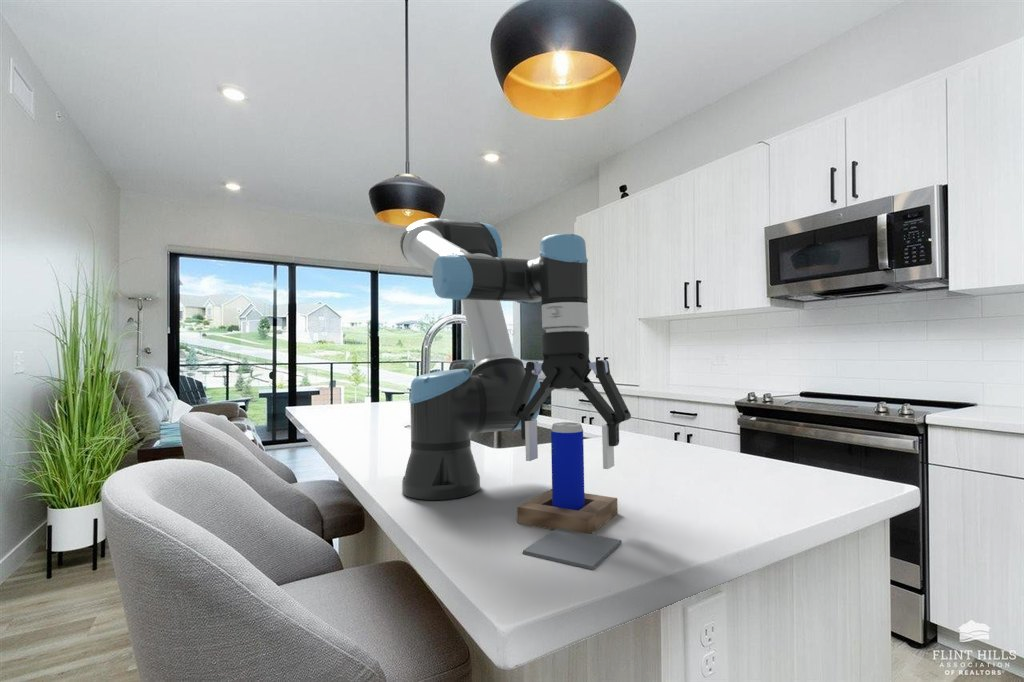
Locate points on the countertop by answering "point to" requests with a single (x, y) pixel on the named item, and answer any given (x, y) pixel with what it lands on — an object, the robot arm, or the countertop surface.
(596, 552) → the grey rubber mat
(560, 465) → the beverage can
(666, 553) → the countertop surface
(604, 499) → the walnut collar block
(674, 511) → the countertop surface
